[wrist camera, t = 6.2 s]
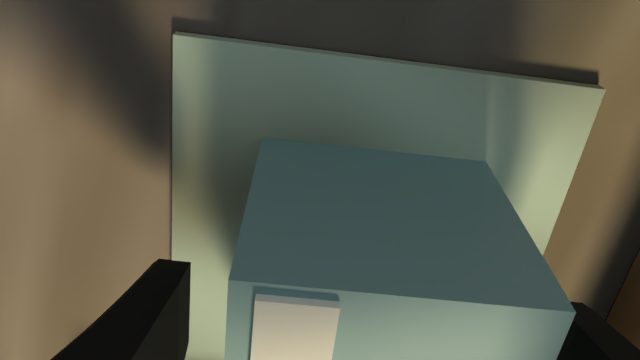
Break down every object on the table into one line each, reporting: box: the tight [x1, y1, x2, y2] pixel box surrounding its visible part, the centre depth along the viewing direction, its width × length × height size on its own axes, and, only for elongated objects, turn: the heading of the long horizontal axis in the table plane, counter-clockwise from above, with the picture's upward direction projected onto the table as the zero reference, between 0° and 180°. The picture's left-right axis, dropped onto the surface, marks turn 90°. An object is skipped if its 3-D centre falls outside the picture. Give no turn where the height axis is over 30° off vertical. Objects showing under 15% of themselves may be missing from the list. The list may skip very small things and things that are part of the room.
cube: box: [224, 138, 576, 360], centre depth 11 cm, size 5×5×5 cm
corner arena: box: [172, 31, 640, 360], centre depth 13 cm, size 15×14×3 cm
